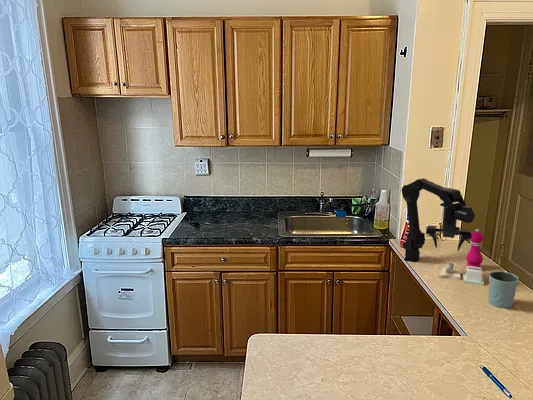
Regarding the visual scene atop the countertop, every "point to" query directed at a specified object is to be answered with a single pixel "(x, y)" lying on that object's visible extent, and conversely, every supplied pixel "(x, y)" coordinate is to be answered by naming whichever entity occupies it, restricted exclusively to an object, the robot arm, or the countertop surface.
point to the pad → (473, 281)
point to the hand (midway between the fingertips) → (447, 249)
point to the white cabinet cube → (474, 273)
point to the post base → (447, 275)
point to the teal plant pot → (502, 289)
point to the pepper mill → (475, 250)
